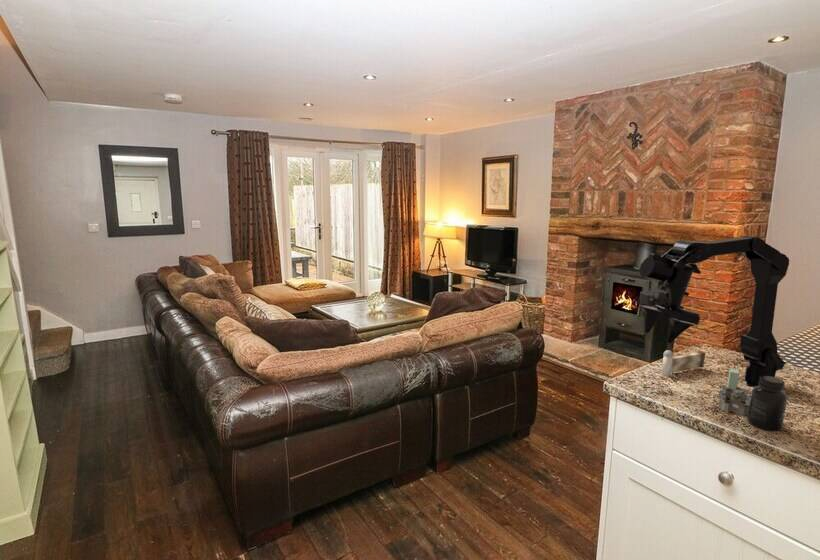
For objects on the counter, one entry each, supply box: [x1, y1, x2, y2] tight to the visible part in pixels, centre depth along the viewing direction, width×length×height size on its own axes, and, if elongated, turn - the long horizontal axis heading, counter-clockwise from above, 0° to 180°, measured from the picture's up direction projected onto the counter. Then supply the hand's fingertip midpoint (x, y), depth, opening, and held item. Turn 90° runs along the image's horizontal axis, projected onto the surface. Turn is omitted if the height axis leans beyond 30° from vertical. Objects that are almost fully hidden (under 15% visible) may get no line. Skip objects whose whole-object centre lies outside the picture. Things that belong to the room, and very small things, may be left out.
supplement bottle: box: [747, 376, 788, 432], centre depth 112 cm, size 7×7×12 cm
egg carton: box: [717, 384, 752, 416], centre depth 123 cm, size 11×8×4 cm
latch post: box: [727, 367, 740, 389], centre depth 134 cm, size 2×4×5 cm, turn 147°
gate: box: [670, 350, 706, 374], centre depth 146 cm, size 14×2×5 cm, turn 112°
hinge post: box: [661, 349, 674, 377], centre depth 143 cm, size 3×3×8 cm
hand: (656, 337), depth 131 cm, fingers open, 9 cm apart
